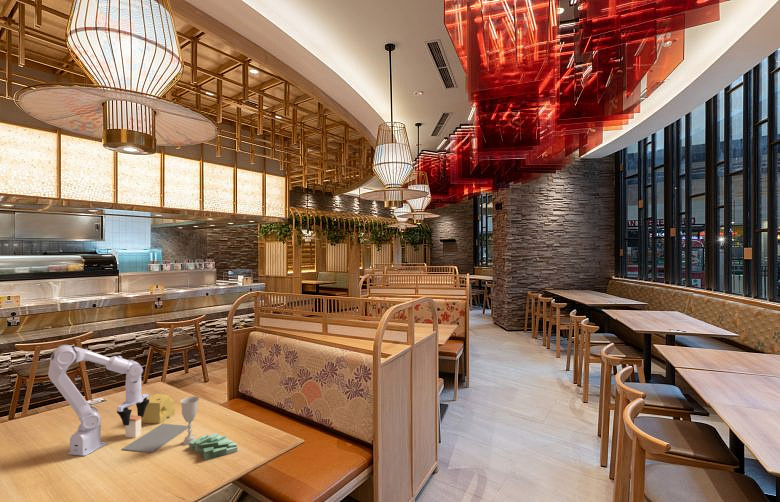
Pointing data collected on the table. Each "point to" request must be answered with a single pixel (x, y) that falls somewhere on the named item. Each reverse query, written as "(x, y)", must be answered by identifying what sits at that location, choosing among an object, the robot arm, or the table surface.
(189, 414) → the chalice
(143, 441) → the slate mat
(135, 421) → the cream block
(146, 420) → the cheese
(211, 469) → the table surface
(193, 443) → the money
